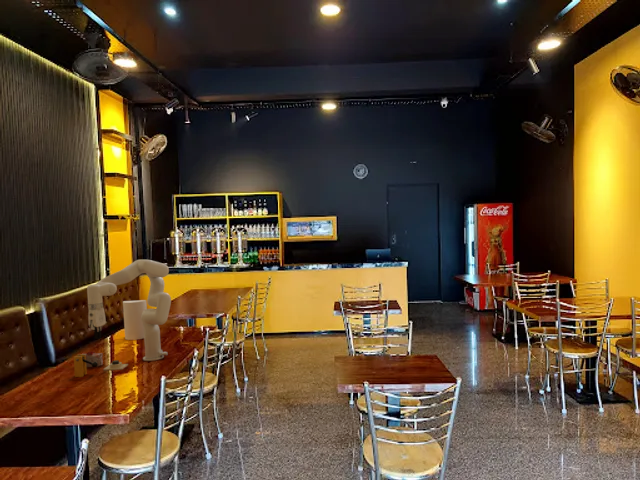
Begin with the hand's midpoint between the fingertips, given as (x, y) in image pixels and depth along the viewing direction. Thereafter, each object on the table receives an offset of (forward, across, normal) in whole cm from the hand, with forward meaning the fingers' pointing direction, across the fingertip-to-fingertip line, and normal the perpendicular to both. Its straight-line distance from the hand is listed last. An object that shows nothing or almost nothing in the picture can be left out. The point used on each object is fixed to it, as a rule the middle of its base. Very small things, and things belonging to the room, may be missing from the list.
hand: (98, 338), depth 284 cm
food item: (+22, +15, +15) cm, 30 cm away
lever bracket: (+21, -4, +9) cm, 24 cm away
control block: (+21, +10, -4) cm, 24 cm away
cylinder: (+22, +94, +27) cm, 100 cm away
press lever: (+14, -4, +6) cm, 15 cm away
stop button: (+18, +10, -4) cm, 21 cm away
